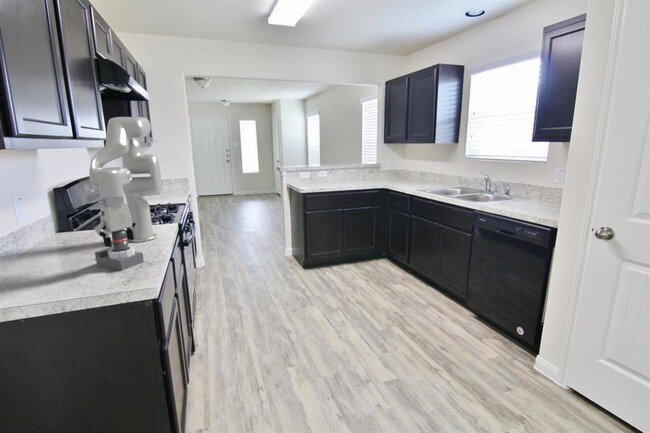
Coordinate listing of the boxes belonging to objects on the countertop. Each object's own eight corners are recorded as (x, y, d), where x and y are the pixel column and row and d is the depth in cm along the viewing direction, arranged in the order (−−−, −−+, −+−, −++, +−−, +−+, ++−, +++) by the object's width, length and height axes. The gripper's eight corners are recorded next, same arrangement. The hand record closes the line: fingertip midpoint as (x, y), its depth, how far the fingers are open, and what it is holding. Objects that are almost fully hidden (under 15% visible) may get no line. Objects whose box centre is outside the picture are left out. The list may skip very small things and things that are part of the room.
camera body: (97, 266, 137) (94, 251, 135) (119, 258, 146) (117, 243, 144) (122, 270, 132) (119, 254, 130) (143, 261, 141) (141, 246, 139)
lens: (111, 256, 136) (107, 232, 134) (123, 252, 141) (120, 229, 139) (120, 257, 134) (117, 233, 132) (132, 253, 139) (129, 230, 137)
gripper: (98, 206, 123) (106, 250, 127) (138, 197, 139) (145, 237, 143) (84, 205, 126) (92, 248, 130) (125, 197, 141) (132, 236, 145)
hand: (120, 242), depth 136 cm, fingers open, 9 cm apart
